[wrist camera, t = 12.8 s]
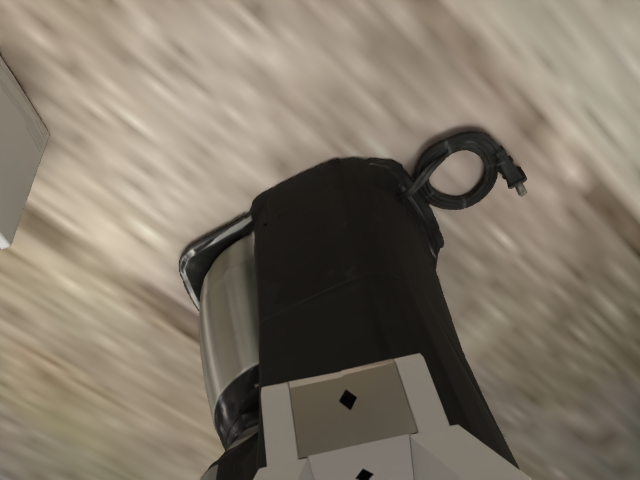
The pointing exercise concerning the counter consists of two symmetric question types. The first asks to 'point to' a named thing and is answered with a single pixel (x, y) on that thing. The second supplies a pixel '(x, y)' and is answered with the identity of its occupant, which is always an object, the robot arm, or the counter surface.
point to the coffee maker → (334, 291)
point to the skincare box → (16, 152)
